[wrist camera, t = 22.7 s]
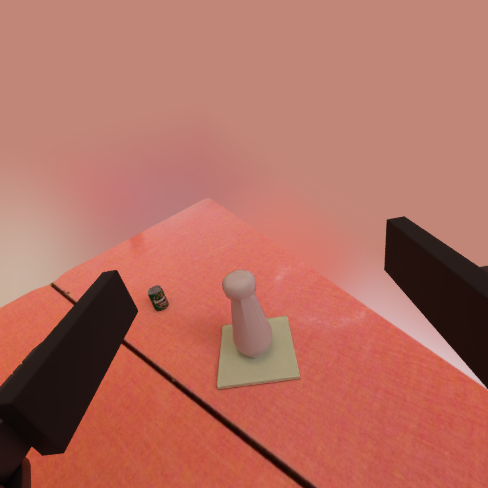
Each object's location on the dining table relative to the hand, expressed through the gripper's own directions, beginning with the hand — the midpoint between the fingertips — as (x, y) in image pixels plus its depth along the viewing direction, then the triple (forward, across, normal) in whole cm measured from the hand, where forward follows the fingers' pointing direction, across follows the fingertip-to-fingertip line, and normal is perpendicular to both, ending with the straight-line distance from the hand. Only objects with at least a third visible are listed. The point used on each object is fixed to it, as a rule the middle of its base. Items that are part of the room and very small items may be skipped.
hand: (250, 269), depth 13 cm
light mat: (+16, -4, -25) cm, 30 cm away
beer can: (+30, -23, -25) cm, 45 cm away
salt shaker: (+16, -4, -24) cm, 30 cm away
